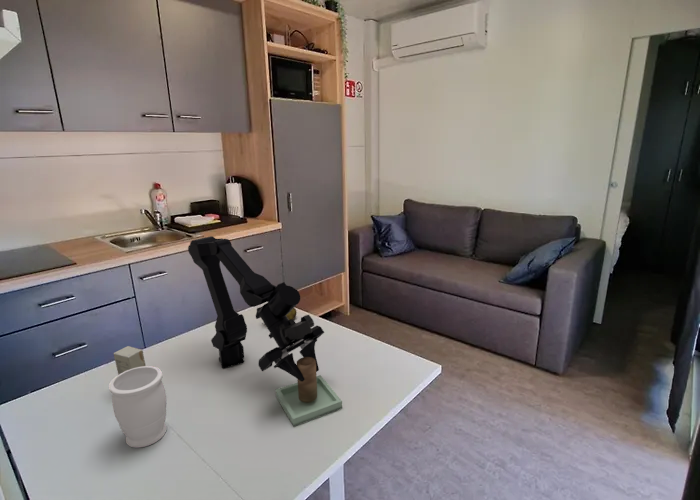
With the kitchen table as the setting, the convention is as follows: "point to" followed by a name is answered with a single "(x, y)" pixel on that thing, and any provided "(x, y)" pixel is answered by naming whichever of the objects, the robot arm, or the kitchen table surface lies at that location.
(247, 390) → the kitchen table surface
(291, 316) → the potato
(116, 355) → the skincare box
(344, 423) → the kitchen table surface
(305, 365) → the mill
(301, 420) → the tray
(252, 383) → the kitchen table surface
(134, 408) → the jar
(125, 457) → the kitchen table surface
